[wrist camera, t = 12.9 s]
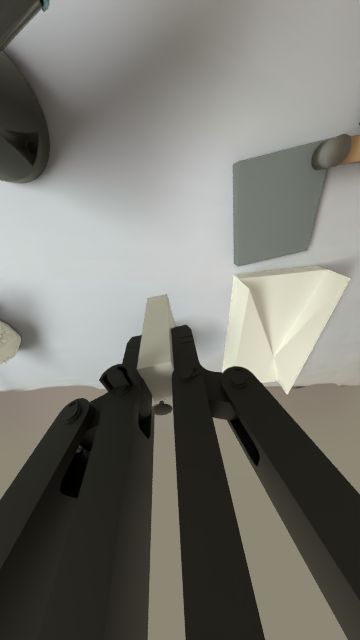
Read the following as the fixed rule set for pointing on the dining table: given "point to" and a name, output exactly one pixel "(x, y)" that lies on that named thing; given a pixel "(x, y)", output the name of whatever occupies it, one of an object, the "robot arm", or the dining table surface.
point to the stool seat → (275, 203)
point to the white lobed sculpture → (8, 342)
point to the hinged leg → (337, 152)
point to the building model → (279, 320)
